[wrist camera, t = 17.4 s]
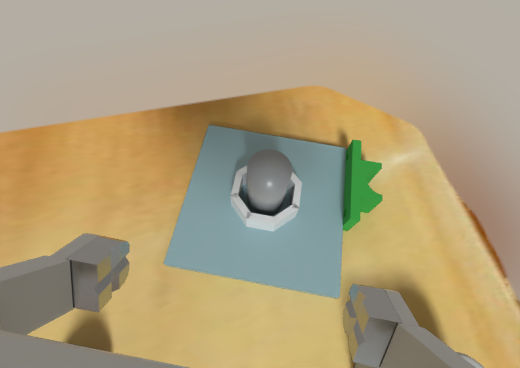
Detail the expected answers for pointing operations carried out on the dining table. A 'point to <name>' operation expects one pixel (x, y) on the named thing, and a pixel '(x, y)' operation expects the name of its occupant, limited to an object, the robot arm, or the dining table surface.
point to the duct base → (262, 226)
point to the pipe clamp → (358, 186)
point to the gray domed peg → (267, 181)
